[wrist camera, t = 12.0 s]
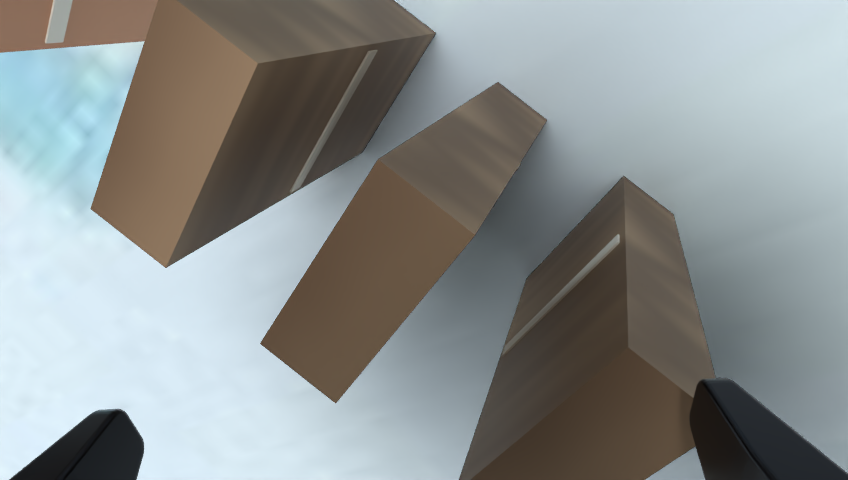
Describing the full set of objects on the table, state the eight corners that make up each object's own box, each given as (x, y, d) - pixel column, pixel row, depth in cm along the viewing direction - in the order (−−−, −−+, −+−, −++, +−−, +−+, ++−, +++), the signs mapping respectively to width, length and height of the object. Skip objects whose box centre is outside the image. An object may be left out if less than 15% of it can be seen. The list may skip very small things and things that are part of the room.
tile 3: (437, 33, 18) (260, 65, 9) (363, 153, 20) (167, 269, 11) (385, -6, 18) (159, -14, 9) (318, 118, 20) (88, 207, 11)
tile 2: (548, 120, 18) (477, 236, 9) (460, 230, 20) (337, 404, 11) (496, 81, 18) (376, 157, 9) (415, 194, 20) (257, 341, 11)
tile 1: (675, 215, 17) (730, 427, 9) (571, 313, 20) (533, 555, 11) (622, 174, 18) (626, 345, 9) (525, 277, 20) (452, 491, 11)
